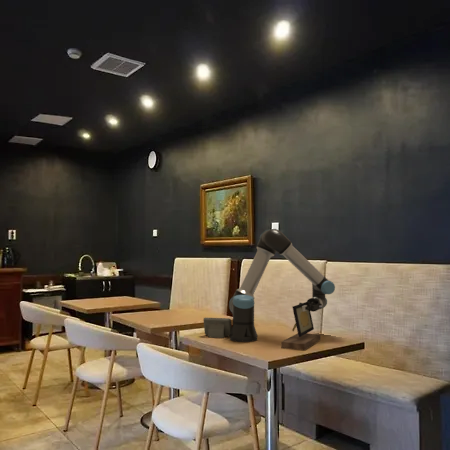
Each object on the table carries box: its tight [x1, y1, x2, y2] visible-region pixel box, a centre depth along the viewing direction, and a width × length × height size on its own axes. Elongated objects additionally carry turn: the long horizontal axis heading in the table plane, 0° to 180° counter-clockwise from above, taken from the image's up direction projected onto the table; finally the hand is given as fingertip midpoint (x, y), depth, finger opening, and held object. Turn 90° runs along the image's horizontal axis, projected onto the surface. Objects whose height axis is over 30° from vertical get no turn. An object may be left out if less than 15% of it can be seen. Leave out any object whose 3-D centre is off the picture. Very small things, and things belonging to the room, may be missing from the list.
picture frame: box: [291, 301, 315, 337], centre depth 229 cm, size 23×9×15 cm, turn 153°
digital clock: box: [203, 317, 233, 339], centre depth 246 cm, size 16×9×11 cm, turn 66°
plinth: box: [280, 332, 321, 351], centre depth 226 cm, size 12×28×3 cm, turn 152°
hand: (301, 308), depth 227 cm, fingers closed
